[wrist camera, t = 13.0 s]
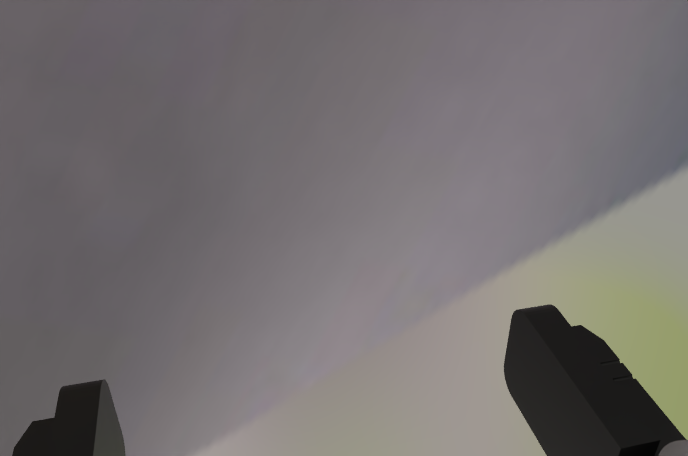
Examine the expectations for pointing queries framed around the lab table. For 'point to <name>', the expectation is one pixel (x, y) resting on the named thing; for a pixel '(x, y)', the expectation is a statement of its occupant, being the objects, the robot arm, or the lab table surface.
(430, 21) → the lab table surface
